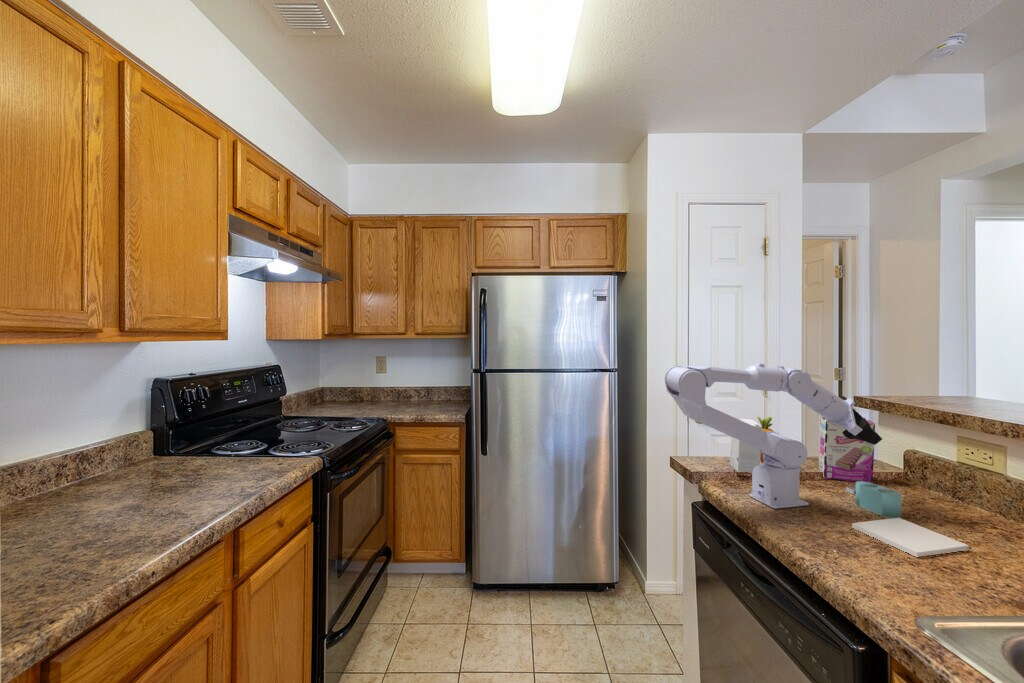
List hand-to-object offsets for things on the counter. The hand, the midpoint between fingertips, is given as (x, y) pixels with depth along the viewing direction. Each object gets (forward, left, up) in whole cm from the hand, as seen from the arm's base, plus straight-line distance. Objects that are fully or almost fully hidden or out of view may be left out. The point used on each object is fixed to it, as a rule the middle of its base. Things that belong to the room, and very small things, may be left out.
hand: (869, 431), depth 103 cm
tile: (-12, -17, -16) cm, 26 cm away
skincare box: (-15, +23, -17) cm, 32 cm away
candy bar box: (+8, +13, -17) cm, 23 cm away
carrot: (-5, +27, -17) cm, 32 cm away
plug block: (-4, -5, -16) cm, 17 cm away
